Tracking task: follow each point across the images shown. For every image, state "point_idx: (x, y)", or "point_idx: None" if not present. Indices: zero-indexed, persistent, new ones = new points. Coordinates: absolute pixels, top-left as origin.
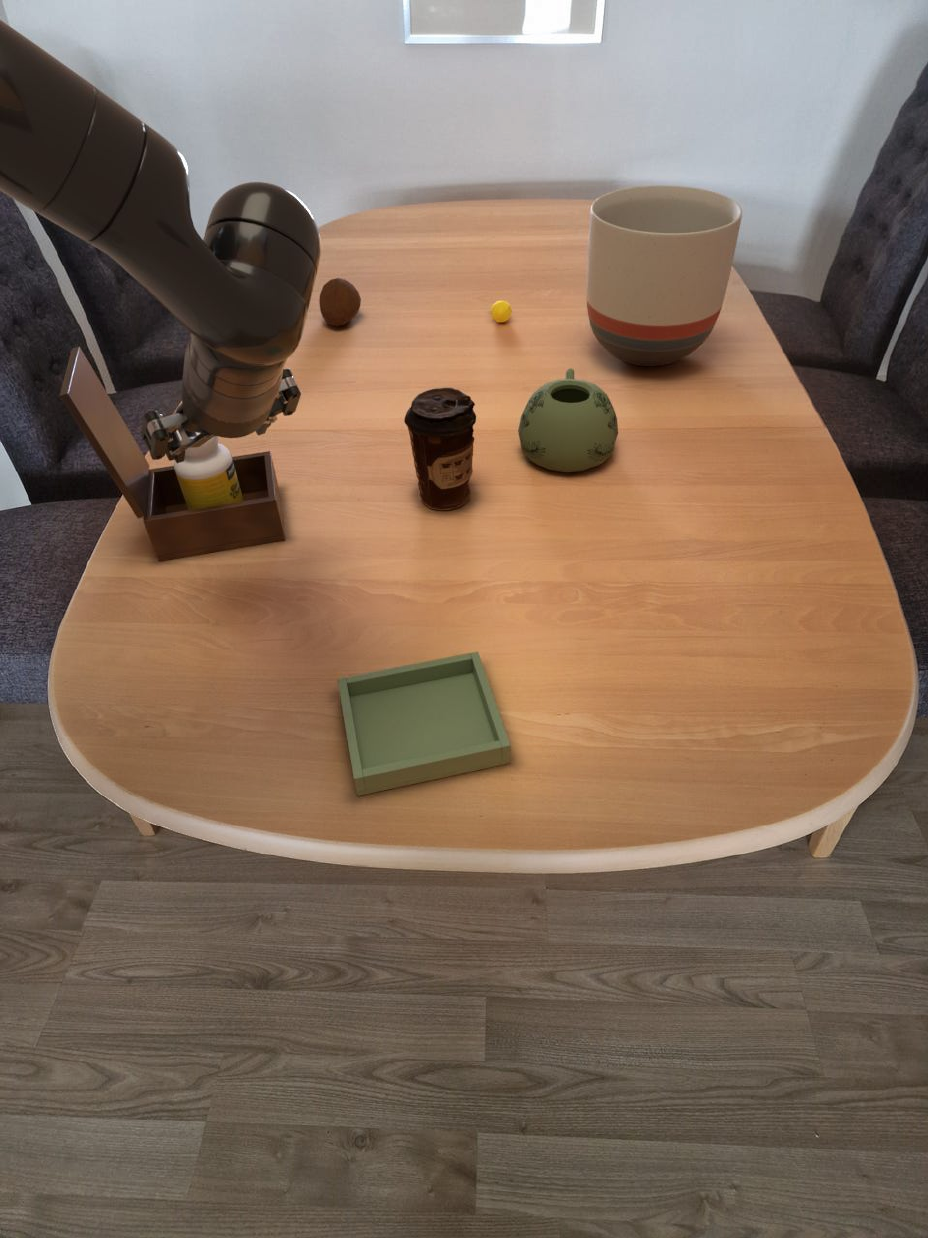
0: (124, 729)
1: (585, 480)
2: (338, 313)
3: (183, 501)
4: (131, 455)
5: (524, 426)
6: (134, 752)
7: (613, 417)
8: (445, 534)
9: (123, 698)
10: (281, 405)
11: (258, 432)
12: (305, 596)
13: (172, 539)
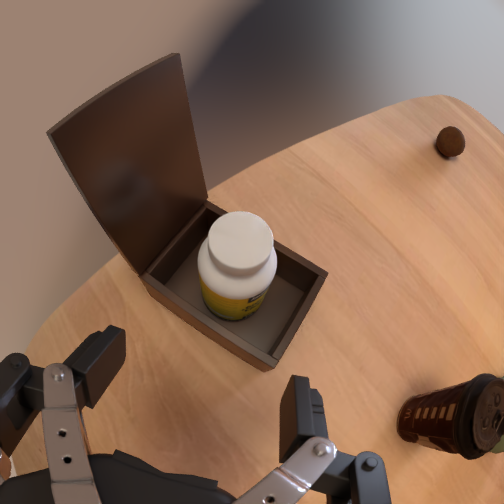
0: (29, 436)
1: None
2: (448, 149)
3: None
4: (175, 196)
5: None
6: (27, 457)
7: None
8: None
9: (40, 414)
10: (337, 492)
11: (280, 412)
12: (219, 459)
13: (162, 300)
